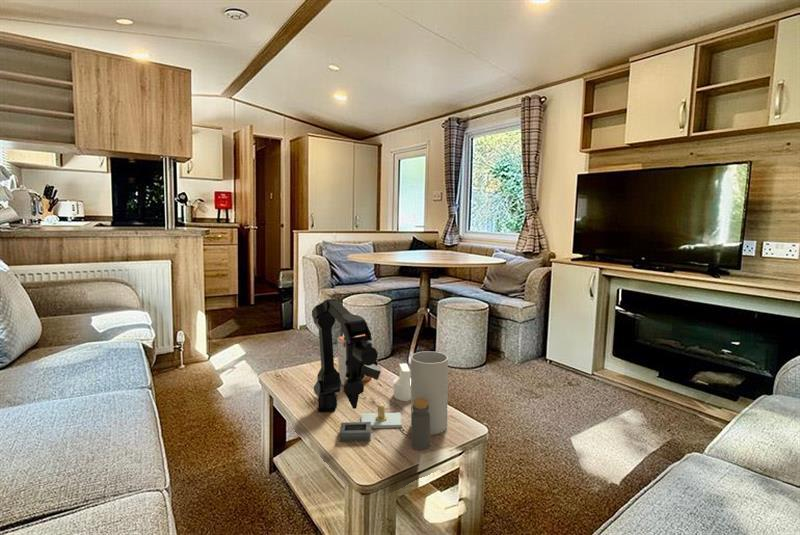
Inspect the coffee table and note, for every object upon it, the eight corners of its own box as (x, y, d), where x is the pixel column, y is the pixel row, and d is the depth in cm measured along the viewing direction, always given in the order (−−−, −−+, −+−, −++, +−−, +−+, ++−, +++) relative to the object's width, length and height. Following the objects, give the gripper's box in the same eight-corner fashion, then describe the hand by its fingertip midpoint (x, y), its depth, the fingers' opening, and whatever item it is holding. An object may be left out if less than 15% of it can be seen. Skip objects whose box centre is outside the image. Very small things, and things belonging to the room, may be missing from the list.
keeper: (360, 428, 147) (360, 411, 146) (362, 416, 156) (361, 400, 155) (401, 427, 148) (401, 410, 147) (400, 415, 157) (400, 399, 156)
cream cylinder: (417, 399, 170) (417, 370, 168) (395, 401, 168) (395, 371, 167) (413, 390, 179) (413, 362, 177) (392, 391, 177) (392, 364, 176)
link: (339, 441, 138) (339, 433, 138) (341, 430, 145) (341, 422, 145) (370, 441, 139) (370, 432, 138) (371, 430, 146) (370, 421, 145)
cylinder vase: (403, 424, 149) (403, 355, 146) (430, 415, 157) (431, 349, 154) (426, 440, 139) (427, 366, 136) (454, 428, 147) (455, 358, 144)
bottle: (410, 441, 139) (410, 397, 137) (428, 440, 139) (428, 396, 137) (412, 451, 133) (412, 405, 131) (431, 450, 133) (431, 404, 131)
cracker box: (365, 375, 195) (364, 331, 192) (372, 379, 190) (371, 334, 188) (337, 382, 187) (336, 336, 184) (344, 387, 182) (343, 339, 179)
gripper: (379, 366, 130) (379, 414, 132) (379, 347, 148) (379, 390, 150) (342, 366, 129) (343, 415, 131) (347, 347, 148) (348, 390, 150)
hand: (355, 402), depth 141 cm, fingers open, 9 cm apart
